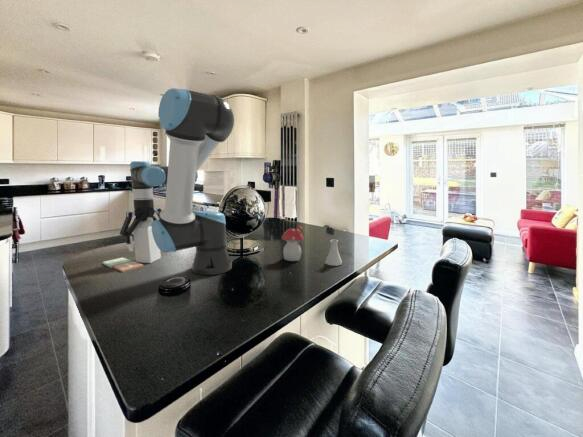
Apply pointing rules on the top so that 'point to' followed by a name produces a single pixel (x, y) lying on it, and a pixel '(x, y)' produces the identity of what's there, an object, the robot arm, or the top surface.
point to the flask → (333, 255)
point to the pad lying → (128, 266)
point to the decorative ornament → (292, 244)
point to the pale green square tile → (116, 262)
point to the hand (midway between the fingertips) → (147, 247)
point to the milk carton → (145, 243)
